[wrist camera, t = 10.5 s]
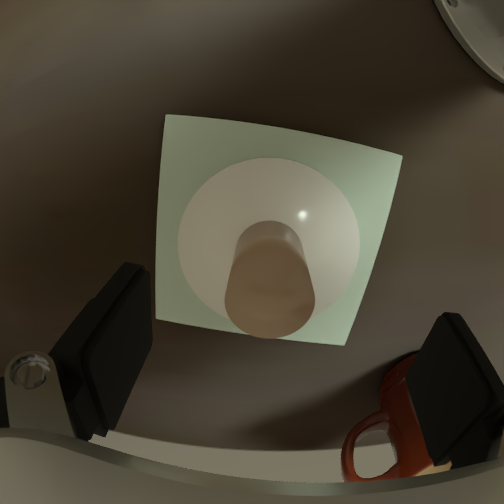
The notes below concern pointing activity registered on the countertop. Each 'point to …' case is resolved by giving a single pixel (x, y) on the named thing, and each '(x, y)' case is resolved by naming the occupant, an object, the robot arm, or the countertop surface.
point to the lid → (268, 244)
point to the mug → (393, 431)
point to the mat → (266, 145)
